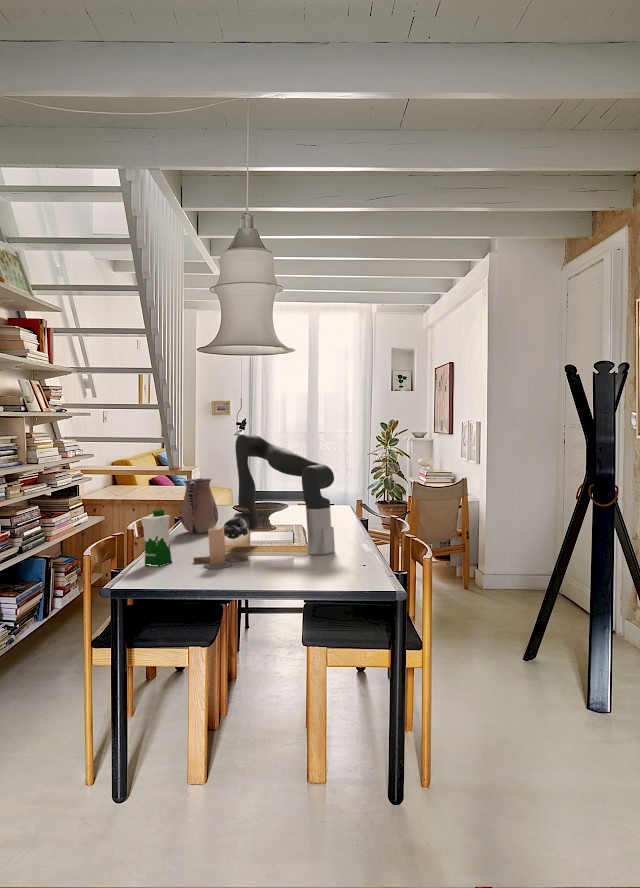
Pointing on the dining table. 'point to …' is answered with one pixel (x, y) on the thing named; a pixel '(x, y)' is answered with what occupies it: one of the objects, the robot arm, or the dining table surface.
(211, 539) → the peach cylinder
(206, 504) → the ceramic pitcher
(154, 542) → the milk carton
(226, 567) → the coaster
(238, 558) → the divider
